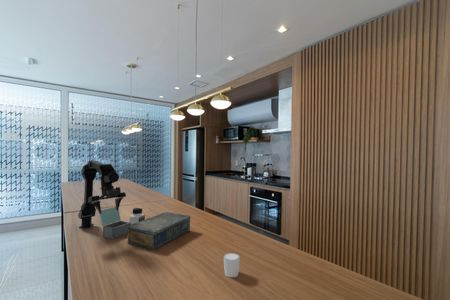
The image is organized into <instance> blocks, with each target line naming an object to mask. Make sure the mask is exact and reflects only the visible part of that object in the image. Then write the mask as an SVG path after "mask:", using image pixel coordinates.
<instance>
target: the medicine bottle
mask: <svg viewBox="0 0 450 300" xmlns="http://www.w3.org/2000/svg"><path fill="white" fill-rule="evenodd" d="M145 218H146V214H144V213H143V208H142V207H134V208H133V209H132V215H130V216H129V222H130V223H131V224H134V223H137V222H141V221H143V220H146V219H145Z"/></svg>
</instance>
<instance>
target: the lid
mask: <svg viewBox="0 0 450 300" xmlns="http://www.w3.org/2000/svg"><path fill="white" fill-rule="evenodd" d="M99 218H100V223H101V226H102V227H103V226H105V225H108V224H112V223H115V222H118V221H122V220H121V215H120V210H119V209H118V211H117V210H116V206H113V207H110V208H106V209H101V214H99Z"/></svg>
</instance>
